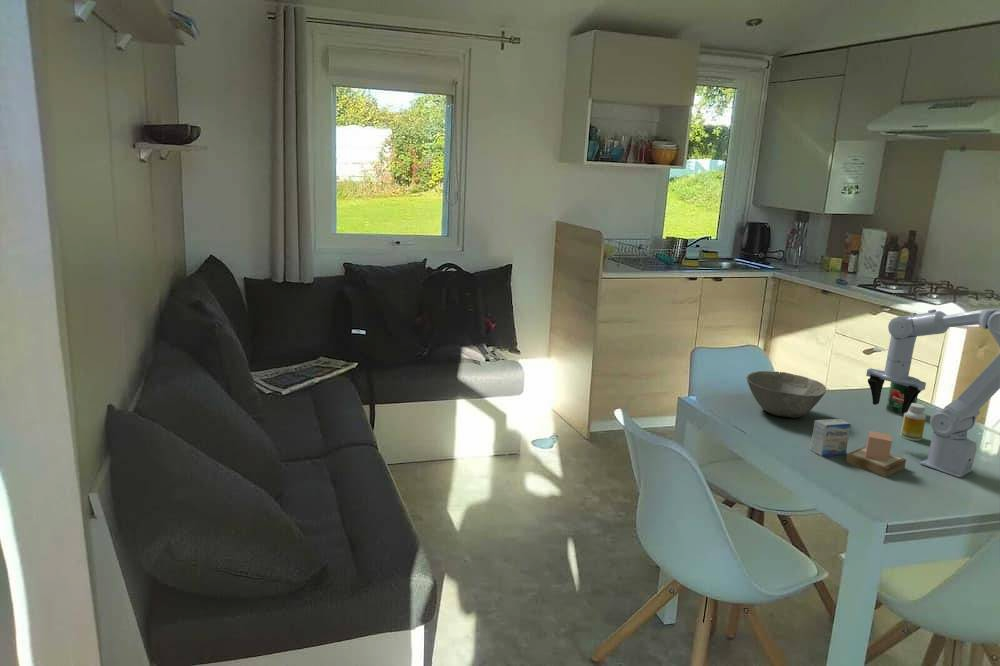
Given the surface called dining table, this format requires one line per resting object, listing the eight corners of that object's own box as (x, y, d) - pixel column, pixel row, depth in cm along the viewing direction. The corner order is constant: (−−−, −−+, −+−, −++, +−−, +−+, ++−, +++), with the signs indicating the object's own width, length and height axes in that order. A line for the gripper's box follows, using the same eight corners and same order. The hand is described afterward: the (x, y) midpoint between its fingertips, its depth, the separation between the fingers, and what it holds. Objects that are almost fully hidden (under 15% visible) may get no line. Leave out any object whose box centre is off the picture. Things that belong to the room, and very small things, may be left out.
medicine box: (820, 456, 184) (826, 425, 182) (809, 449, 189) (814, 419, 187) (846, 454, 187) (851, 423, 184) (834, 448, 191) (839, 417, 189)
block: (887, 454, 181) (891, 434, 180) (888, 461, 177) (892, 441, 175) (865, 450, 183) (869, 430, 182) (865, 457, 179) (869, 436, 177)
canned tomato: (907, 408, 225) (913, 375, 222) (918, 417, 218) (925, 383, 215) (881, 406, 226) (887, 373, 223) (891, 415, 218) (898, 381, 216)
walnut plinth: (904, 468, 180) (906, 458, 179) (885, 477, 174) (887, 467, 173) (865, 454, 187) (866, 445, 187) (845, 462, 181) (847, 453, 181)
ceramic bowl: (798, 433, 200) (803, 399, 198) (727, 409, 217) (731, 377, 215) (836, 417, 214) (841, 386, 212) (766, 396, 231) (771, 366, 229)
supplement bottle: (924, 442, 198) (931, 409, 195) (903, 440, 199) (909, 407, 196) (917, 435, 203) (924, 403, 200) (897, 433, 204) (903, 401, 201)
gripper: (934, 364, 186) (924, 413, 189) (878, 351, 197) (870, 397, 201) (922, 368, 182) (912, 418, 185) (866, 354, 193) (857, 402, 196)
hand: (889, 408), depth 193 cm, fingers open, 7 cm apart
